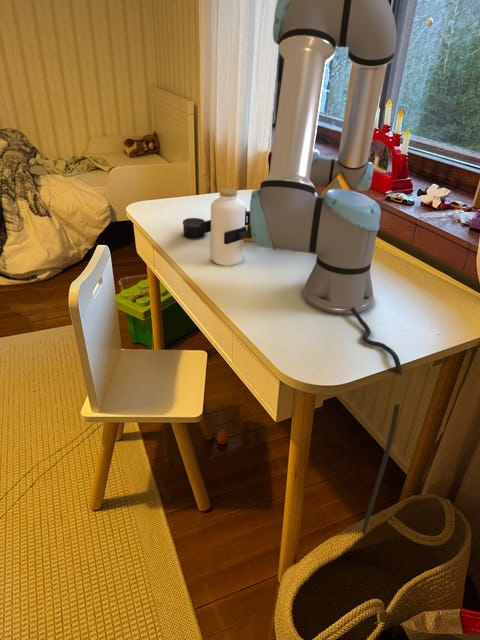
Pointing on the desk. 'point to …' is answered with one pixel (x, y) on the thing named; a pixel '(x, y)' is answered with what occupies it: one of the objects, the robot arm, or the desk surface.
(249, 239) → the mustard block
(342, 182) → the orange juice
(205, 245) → the desk surface
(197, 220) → the dark tin
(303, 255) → the desk surface
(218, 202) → the potion bottle
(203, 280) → the desk surface
